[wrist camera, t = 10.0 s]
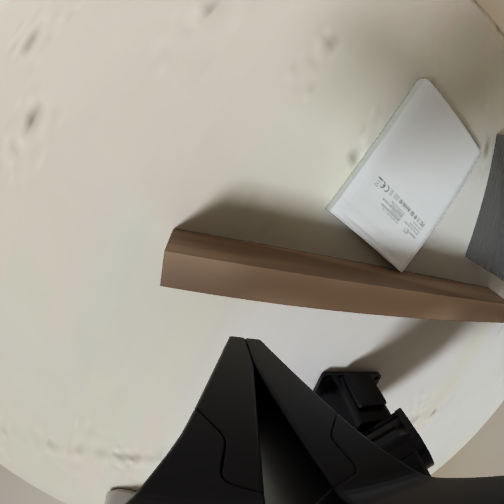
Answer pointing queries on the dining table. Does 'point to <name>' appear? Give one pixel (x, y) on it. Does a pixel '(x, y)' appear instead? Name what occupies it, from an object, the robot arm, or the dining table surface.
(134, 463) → the dining table surface
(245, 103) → the dining table surface
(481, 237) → the bookend
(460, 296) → the rail
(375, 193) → the external hard drive
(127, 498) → the can
